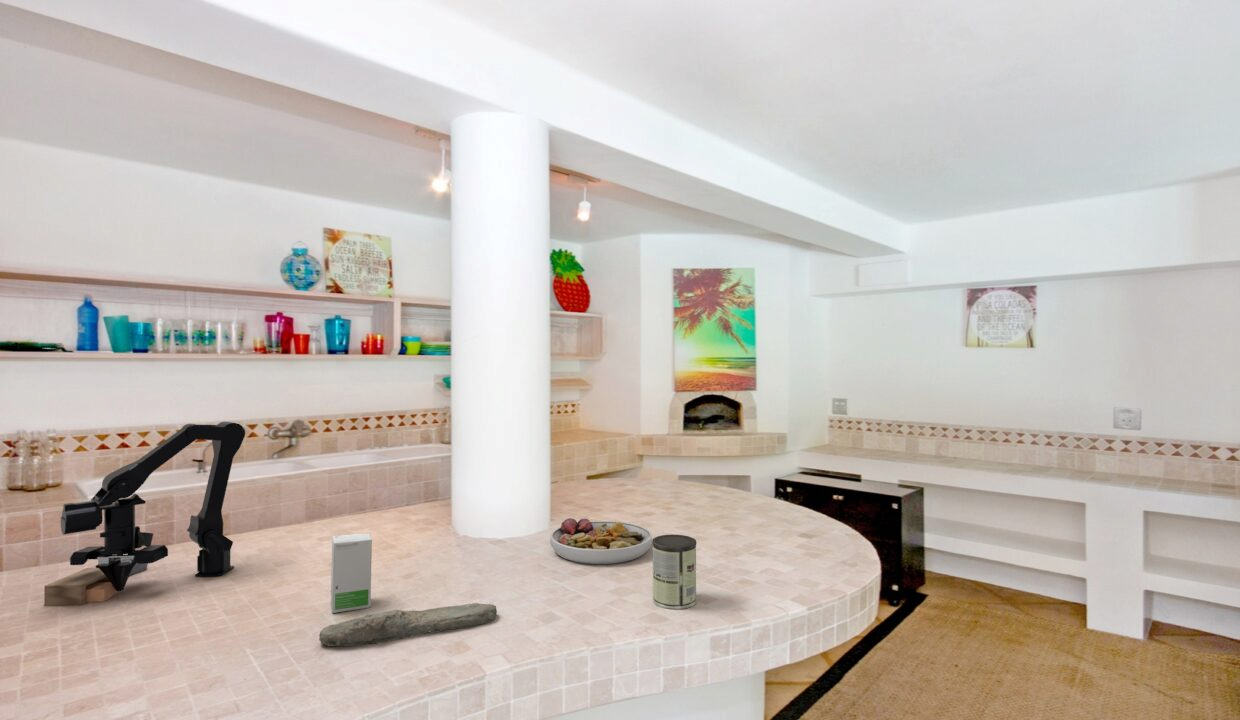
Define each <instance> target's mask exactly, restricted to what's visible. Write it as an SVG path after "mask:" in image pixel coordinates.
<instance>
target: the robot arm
mask: <svg viewBox="0 0 1240 720" xmlns="http://www.w3.org/2000/svg"><path fill="white" fill-rule="evenodd" d="M245 436H246V428H244V427H243V426H242V425H241V424H240V423H237V422H231V421H222V422H218V423H217V424H196V423H187V424H183V426H182V427H181V428H180V429H179V430H177V431H176V432H175V433H174V434H172V435H171V436H169V437H168V438H166V440H164V441H163V442H161V443H159V445H157V446H155V447H154V448H153V449H151V450H149V452H147V453H146V454H145V455H143V456H142V457H140V458H138V459H137V460H135V461H133V462H132V463H131V462H130V463H128V464H126V465H124V466H121V467H120V468H118V469H116V470H114V471H112V472H110V473H108V474H107V475H106V476H105V477H104V478H103V480H102V484H101V487H100V488H99V490H98V491H97V492H96V493H95V494H94V496H93V497H92V498H90V499H91V500H90V501H83V502H68V503H64V504H63V506H62V507H63V508H62V512H61V517H60V530H61V534H62V536H64V535H70V534H71V535H72V534H76V533H77V534H78V533H82V532H83V533H84V532H88V531H94V530H96V529H97V527H100V525H102V523H103V524H104V525H103V527H104V529H103V532H100V533H99V538H103V539H104V540H103V541H104V544H103V545H104V546H101V545H100V546H95V545H94V546H87V547H84V548H82V549H79V550H76V551H74V552H73V553H71V555H70V557H69V565H70V566H83V565H85V564H86V563H87V562H88V561H89V560H97V564H96V565H95V566H96V568H99V569H100V570H101V571H102V572H103V573H104V574H105V575H106V577H107V578H108V579H109V581H110V582H111V584H112V585H113V587H114V588H115V589H116V591H117V593H119V592H122V591H124V589H125V587H126V584H127V582H128V580H129V577H130V576H129V575H130V573H131V571H132V569H133V567H134V566H135V565H136V563H138V564H148V565H149V564H155V563H156V562H158V561H160V560H162V559H164V558H166V557H169V549H168V547H167V546H166V545H165V544H164V545H163V544H157V545H156V544H154V545H153V544H152V542H153V538H154V533H153V532H145V531H142V532H141V528H140V526H139V525H136V506H138V505H144V504H146V503H147V501H146V499H145V500H144V499H142V498H141V497H140V496H139V495H138V494H137V493H136V491H138V490H139V489H140V488H141V487H142V486H143V485H144V484H145V483H146V481H147V479H148V478H149V477H150V476H151V475H152V473H153V472H154V471H156V470H158V469H159V468H160V467H161V466H163V465H164V464H166V463H167V462H168V461H169V460H171V459H172V458H173V457H175V456H176V455H177V454H179V453H180V452H182V451H183V450H184V449H185V448H187V447H188V446H189V445H191V444H192V443H193V442H195V441H197V440H200V441H201V440H204V441H205V440H206V441H212V442H211V443H212V451H213V458H212V463H211V466H210V471H209V475H208V480H207V484H206V487H205V488H206V489H205V493H204V496H203V502H202V507H201V509H200V511H199V513H197V515H193V514H192V515H191V516H190V521H189V527H188V528H187V529H186V532H188V533H189V534H188V536H189V538H190V539H191V540H192V541H193V542H194V543H196V544H197V545H198V547H199V548H200V550H198V556H197V557H196V558H197V559H196V561H197V562H196V563H197V564H196V566H197V567H196V571H197V573H195V574H194V577H220V576H221V577H222V575H224V574H226V573H227V572H230V571H231V570H233V569H234V568H235V566H234V565H231V549H232V546H233V543H234V541H233V540H231V539H229V538H228V537H227V536H225V535H224V518H223V514H222V513H223V511H222V509H223V506H224V505H223V504H224V503H225V502H224V500H225V496H226V491H227V487H228V482H229V478H230V474H231V470H232V467H233V466H232V465H233V460H234V458H235V456H236V454H237V453H238V451H239V450H240V448H241V446H242V444H243V442H244V439H245ZM103 511H104V513H103ZM103 516H104V517H103ZM103 519H104V522H103ZM142 547H143V548H142Z"/></svg>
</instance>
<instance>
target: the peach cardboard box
mask: <svg viewBox="0 0 1240 720" xmlns="http://www.w3.org/2000/svg"><path fill="white" fill-rule="evenodd" d="M116 594H118V592H117V591H116V589H115V588H114V587H113V585H112V584H111V582H105V583H91V584H89V585H86V603H90V602H91V603H92V602H105V601H106V600H108V599H110V598H111V597H113V596H115V595H116Z"/></svg>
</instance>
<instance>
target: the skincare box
mask: <svg viewBox="0 0 1240 720" xmlns="http://www.w3.org/2000/svg"><path fill="white" fill-rule="evenodd" d="M331 542H332V543H331V575H330V576H331V578H330V579H331V580H330V607H331V609H330V610H331V613H332V614H336V613H342V612H348V611H355V610H362V609H369V608H371V606H372V604H371V600H372V599H371V597H372V596H371V595H372V593H371V592H372V556H373V555H372V553H373V552H372V551H373V539H372V536H371V534H370V533H355V534H354V533H352V534H345V535H333V536H332V537H331Z"/></svg>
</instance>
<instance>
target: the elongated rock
mask: <svg viewBox="0 0 1240 720" xmlns="http://www.w3.org/2000/svg"><path fill="white" fill-rule="evenodd" d="M497 613H498V611H497V606H496V605H495V604H491V603H487V604H486V603H478V602H472V603H467V604H462V605H461V604H460V605H453V606H452V605H451V606H442V607H436V608H428V609H423V610H416V609H415V610H402V609H392V610H388V611H383V612H378V613H375V614H374V613H372V614H366V615H364V616H363V617H357V618H353V619H349V620H346V621H342V622H339V623H335V624H329V625H327V626H325V627H323V628H322V629H321V630H320V632H319V639H318V640H319V641H320V643H321V644H323V645H326V646H328V647H345V646H346V647H358V646H363V645H364V646H366V645H368V644H370V645H374V644H375V645H379V644H381V643H388V642H389V641H393V640H400V639H401V640H402V639H404V638H411V637H412V636H416V635H418V634H428V633H429V632H430V633H432V634H436V633H438V632H441V631H445V630H446V631H447V630H457V629H465V628H472V627H475V626H478V625H484V624H485V623H489V622H492V621H494V620H495V619H496V617H497V615H498V614H497Z"/></svg>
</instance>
